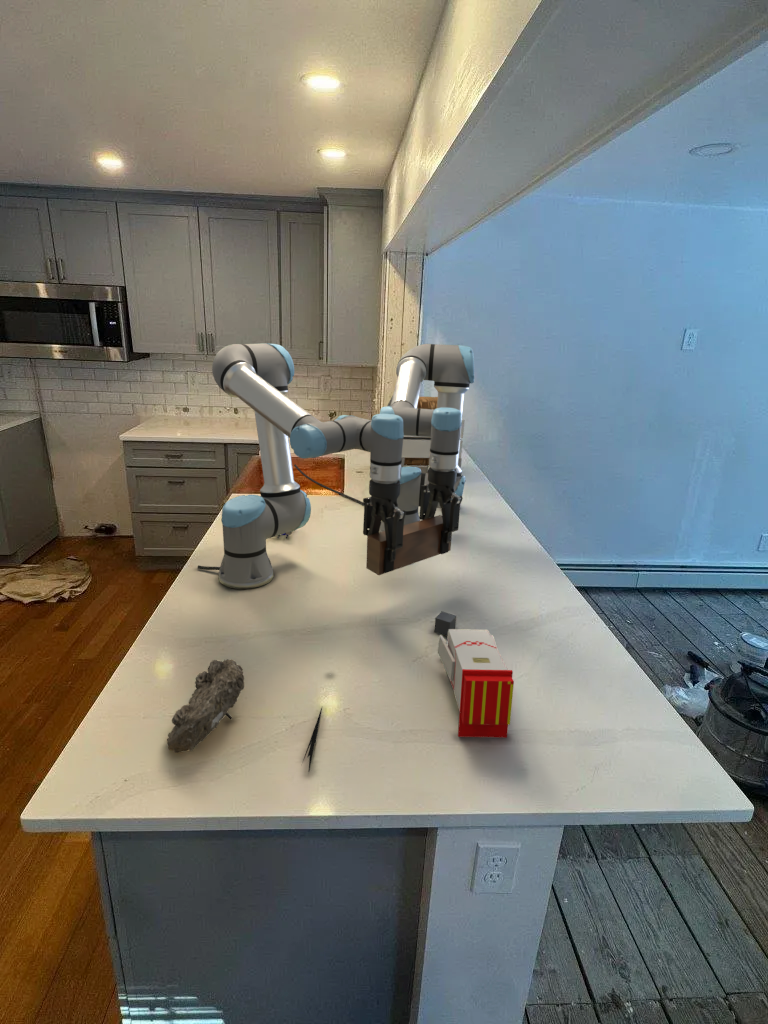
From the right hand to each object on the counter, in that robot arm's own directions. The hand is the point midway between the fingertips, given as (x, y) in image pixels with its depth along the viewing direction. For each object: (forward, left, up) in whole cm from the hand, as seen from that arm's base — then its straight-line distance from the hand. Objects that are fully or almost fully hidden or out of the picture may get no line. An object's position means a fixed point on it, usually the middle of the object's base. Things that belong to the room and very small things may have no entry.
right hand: (436, 549), depth 157 cm
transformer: (-90, +81, -13) cm, 122 cm away
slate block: (+17, -13, -13) cm, 25 cm away
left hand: (0, -20, 0) cm, 20 cm away
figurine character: (-60, -12, -13) cm, 63 cm away
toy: (+37, -26, -13) cm, 47 cm away
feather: (+25, -56, -13) cm, 62 cm away
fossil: (+12, -72, -13) cm, 74 cm away
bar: (0, -10, 0) cm, 10 cm away
